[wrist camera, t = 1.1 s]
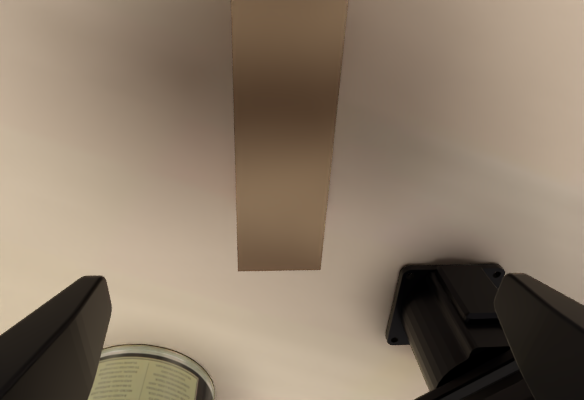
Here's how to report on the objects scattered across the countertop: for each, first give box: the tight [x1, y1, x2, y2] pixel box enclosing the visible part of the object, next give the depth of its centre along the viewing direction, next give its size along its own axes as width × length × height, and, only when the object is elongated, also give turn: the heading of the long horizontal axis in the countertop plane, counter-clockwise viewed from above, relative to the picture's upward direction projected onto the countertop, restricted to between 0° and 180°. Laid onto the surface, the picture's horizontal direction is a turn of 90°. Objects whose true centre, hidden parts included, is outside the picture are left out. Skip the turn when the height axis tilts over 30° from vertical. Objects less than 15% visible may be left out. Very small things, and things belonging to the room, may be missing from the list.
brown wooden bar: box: [231, 0, 348, 271], centre depth 16 cm, size 16×4×6 cm, turn 177°
